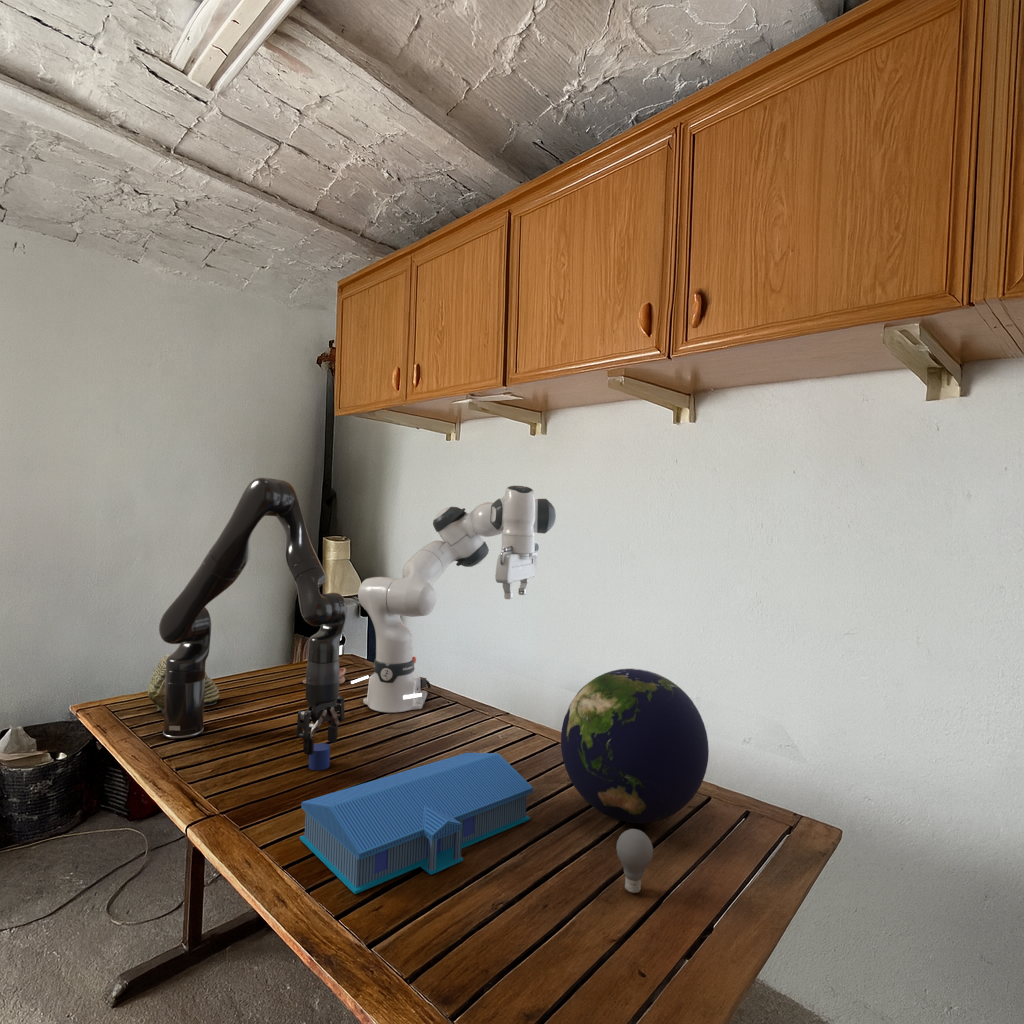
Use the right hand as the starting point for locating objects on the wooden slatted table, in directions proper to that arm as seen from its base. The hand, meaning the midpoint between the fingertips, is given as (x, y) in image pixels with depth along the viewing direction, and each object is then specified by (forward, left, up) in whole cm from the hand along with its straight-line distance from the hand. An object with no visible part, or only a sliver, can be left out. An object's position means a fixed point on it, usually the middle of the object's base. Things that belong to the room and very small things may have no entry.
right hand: (515, 596), depth 171 cm
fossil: (+5, -96, -38) cm, 104 cm away
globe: (+35, +32, -38) cm, 61 cm away
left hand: (+31, -39, -34) cm, 61 cm away
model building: (+53, -6, -38) cm, 66 cm away
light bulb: (+61, +33, -38) cm, 80 cm away
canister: (+31, -39, -38) cm, 63 cm away
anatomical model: (-30, -70, -38) cm, 85 cm away
